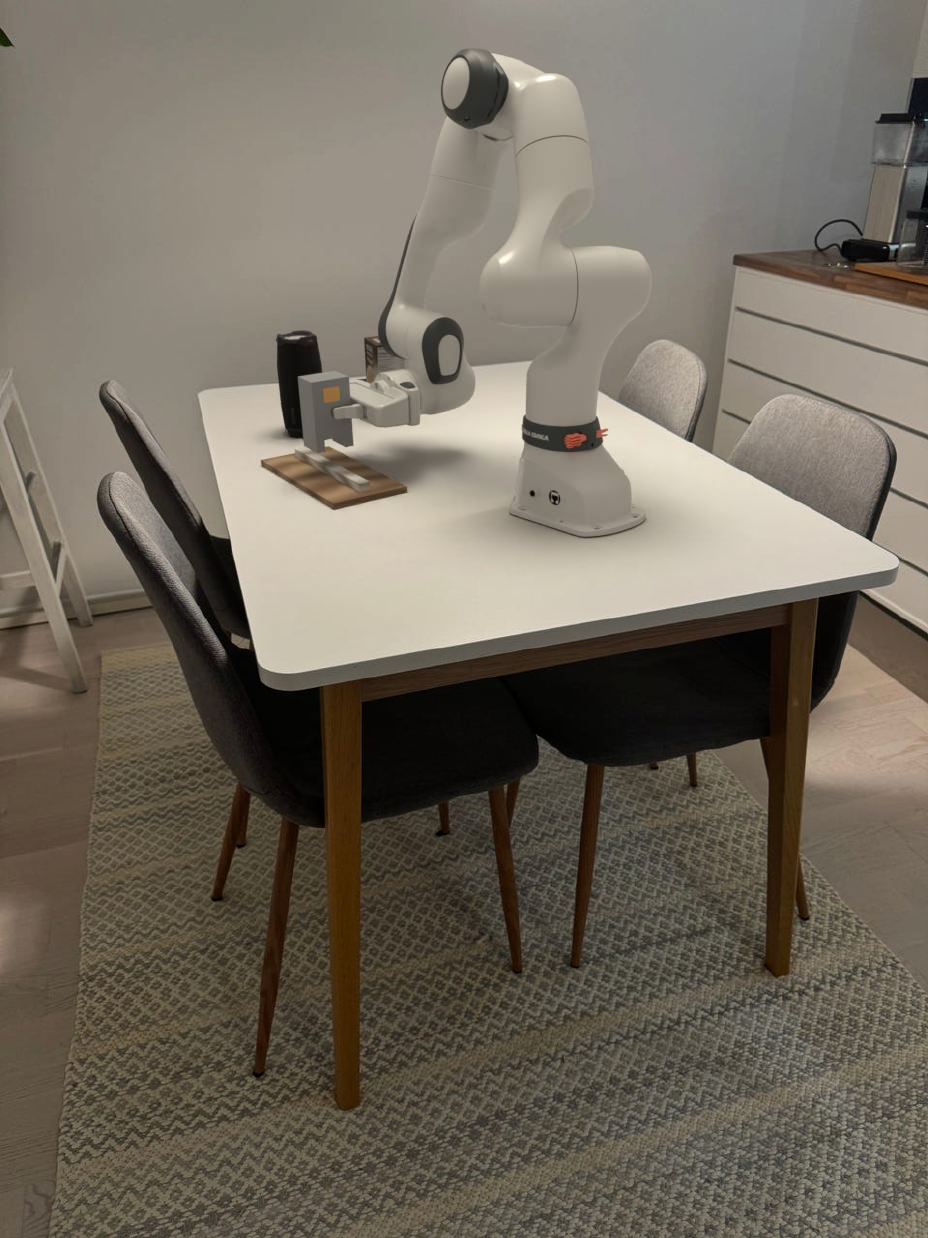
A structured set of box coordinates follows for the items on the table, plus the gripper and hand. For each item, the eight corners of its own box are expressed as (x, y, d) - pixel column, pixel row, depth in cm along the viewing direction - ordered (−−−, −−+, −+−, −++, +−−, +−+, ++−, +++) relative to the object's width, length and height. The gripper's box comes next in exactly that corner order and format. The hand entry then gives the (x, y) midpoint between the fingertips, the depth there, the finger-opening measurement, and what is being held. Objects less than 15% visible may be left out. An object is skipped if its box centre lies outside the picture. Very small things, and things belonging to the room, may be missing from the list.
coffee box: (366, 412, 201) (362, 336, 193) (394, 409, 203) (391, 334, 195) (379, 422, 193) (375, 344, 186) (408, 419, 195) (405, 342, 188)
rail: (407, 491, 156) (406, 477, 154) (334, 509, 148) (332, 494, 147) (329, 451, 176) (328, 438, 175) (261, 465, 169) (259, 452, 167)
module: (353, 445, 160) (349, 376, 154) (317, 453, 156) (311, 382, 150) (339, 438, 163) (334, 370, 158) (303, 445, 160) (297, 376, 154)
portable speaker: (306, 424, 192) (298, 327, 183) (336, 432, 187) (329, 333, 178) (273, 433, 187) (263, 334, 178) (303, 441, 181) (294, 340, 172)
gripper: (363, 367, 169) (295, 378, 162) (423, 390, 155) (351, 403, 148) (365, 401, 172) (298, 413, 165) (424, 427, 158) (354, 441, 151)
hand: (323, 409), depth 156 cm, fingers closed on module, 5 cm apart
